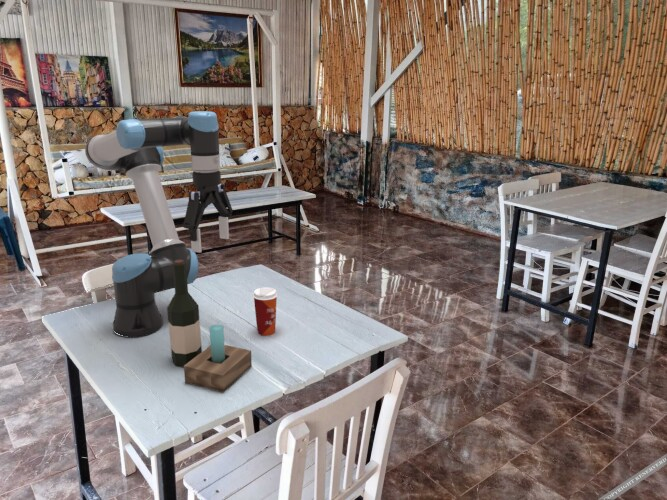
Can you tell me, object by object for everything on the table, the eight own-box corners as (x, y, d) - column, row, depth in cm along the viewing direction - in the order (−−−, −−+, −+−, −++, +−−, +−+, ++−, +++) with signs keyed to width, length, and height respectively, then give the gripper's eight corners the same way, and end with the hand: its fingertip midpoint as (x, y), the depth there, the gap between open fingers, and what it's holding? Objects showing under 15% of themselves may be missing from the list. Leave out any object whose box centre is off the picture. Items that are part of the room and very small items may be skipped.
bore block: (185, 382, 139) (183, 365, 138) (215, 357, 152) (214, 342, 150) (223, 392, 135) (222, 375, 133) (251, 366, 147) (251, 350, 146)
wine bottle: (186, 370, 145) (177, 268, 136) (165, 362, 149) (156, 262, 140) (208, 357, 152) (201, 259, 142) (188, 350, 156) (180, 254, 147)
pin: (209, 372, 142) (206, 329, 138) (217, 366, 145) (214, 323, 141) (221, 375, 141) (218, 331, 137) (228, 368, 144) (225, 326, 140)
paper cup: (274, 338, 163) (273, 297, 159) (250, 336, 165) (249, 294, 160) (281, 327, 170) (280, 287, 166) (259, 325, 172) (257, 285, 168)
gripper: (189, 178, 130) (195, 259, 137) (242, 164, 152) (245, 234, 159) (164, 176, 133) (171, 255, 140) (220, 163, 155) (224, 232, 162)
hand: (211, 244), depth 149 cm, fingers open, 13 cm apart
